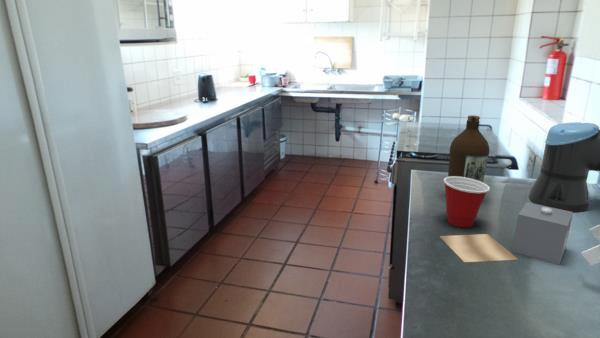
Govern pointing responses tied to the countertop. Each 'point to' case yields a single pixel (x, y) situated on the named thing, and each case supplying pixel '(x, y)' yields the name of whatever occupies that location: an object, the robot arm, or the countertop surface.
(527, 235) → the grey knobbed cube
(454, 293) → the countertop surface
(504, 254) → the oak board
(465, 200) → the plastic cup
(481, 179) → the brown glass bottle shape
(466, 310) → the countertop surface
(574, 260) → the countertop surface
